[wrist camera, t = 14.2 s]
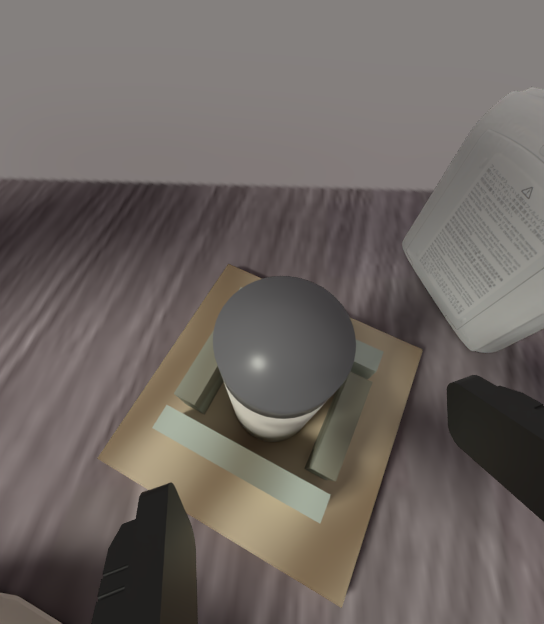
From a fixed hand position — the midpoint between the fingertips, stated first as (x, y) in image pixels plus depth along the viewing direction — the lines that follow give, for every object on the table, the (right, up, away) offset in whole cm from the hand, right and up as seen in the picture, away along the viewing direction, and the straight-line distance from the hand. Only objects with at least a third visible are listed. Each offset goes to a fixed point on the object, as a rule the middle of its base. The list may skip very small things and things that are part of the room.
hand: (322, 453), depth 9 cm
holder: (-1, -2, +11) cm, 11 cm away
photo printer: (+12, +5, +15) cm, 20 cm away
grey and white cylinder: (-1, -1, +10) cm, 10 cm away
